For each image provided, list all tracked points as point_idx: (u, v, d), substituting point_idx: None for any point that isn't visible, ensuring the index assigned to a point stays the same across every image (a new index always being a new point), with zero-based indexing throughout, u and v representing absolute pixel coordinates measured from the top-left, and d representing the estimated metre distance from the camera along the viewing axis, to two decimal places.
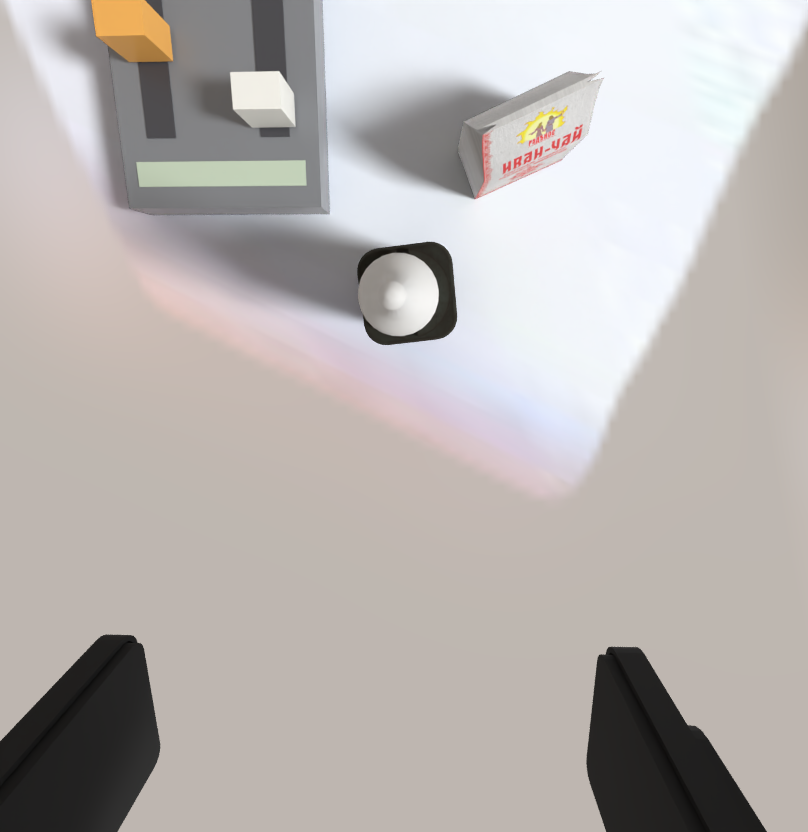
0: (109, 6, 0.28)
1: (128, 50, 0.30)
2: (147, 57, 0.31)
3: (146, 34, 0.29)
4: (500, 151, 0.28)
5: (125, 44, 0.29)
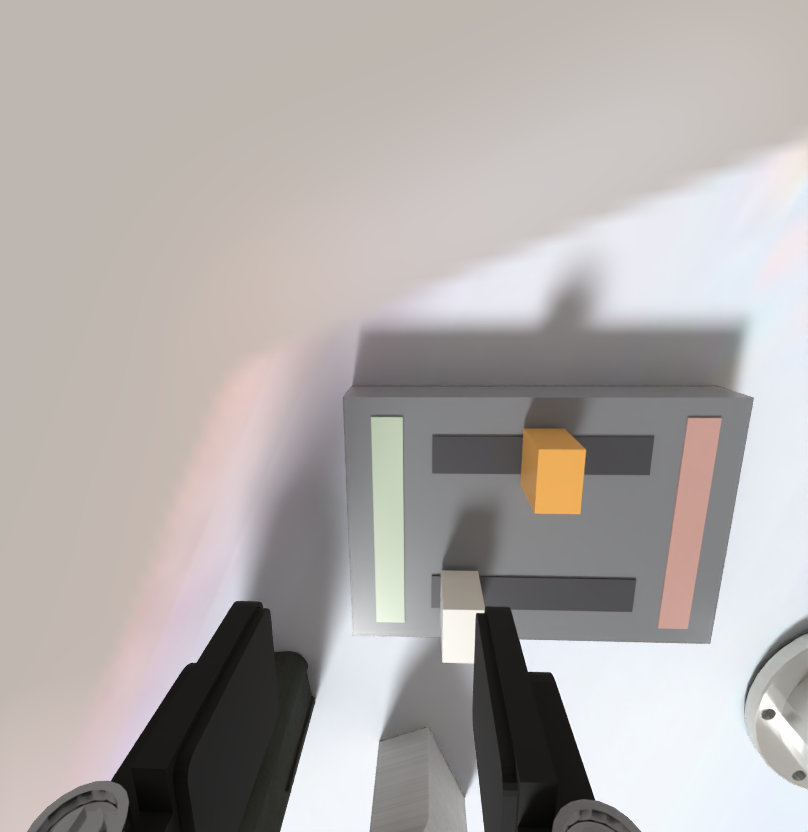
0: (572, 472, 0.21)
1: (528, 455, 0.22)
2: (524, 462, 0.23)
3: (536, 511, 0.21)
4: None
5: (532, 466, 0.22)
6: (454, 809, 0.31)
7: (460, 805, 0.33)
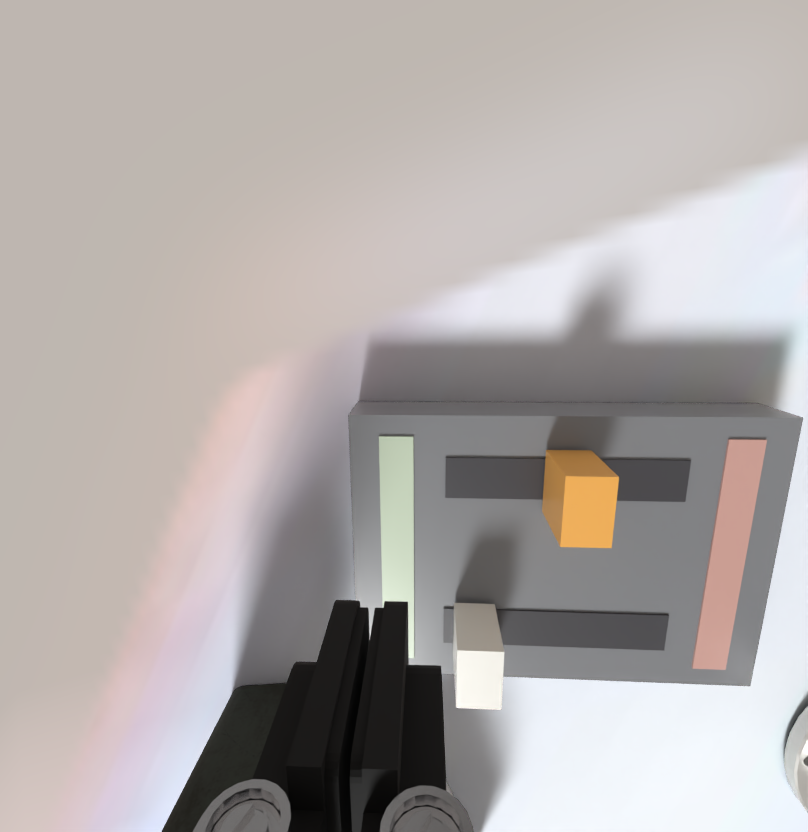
0: (602, 502, 0.18)
1: (552, 481, 0.20)
2: (546, 487, 0.21)
3: (561, 544, 0.19)
4: None
5: (556, 493, 0.20)
6: None
7: None
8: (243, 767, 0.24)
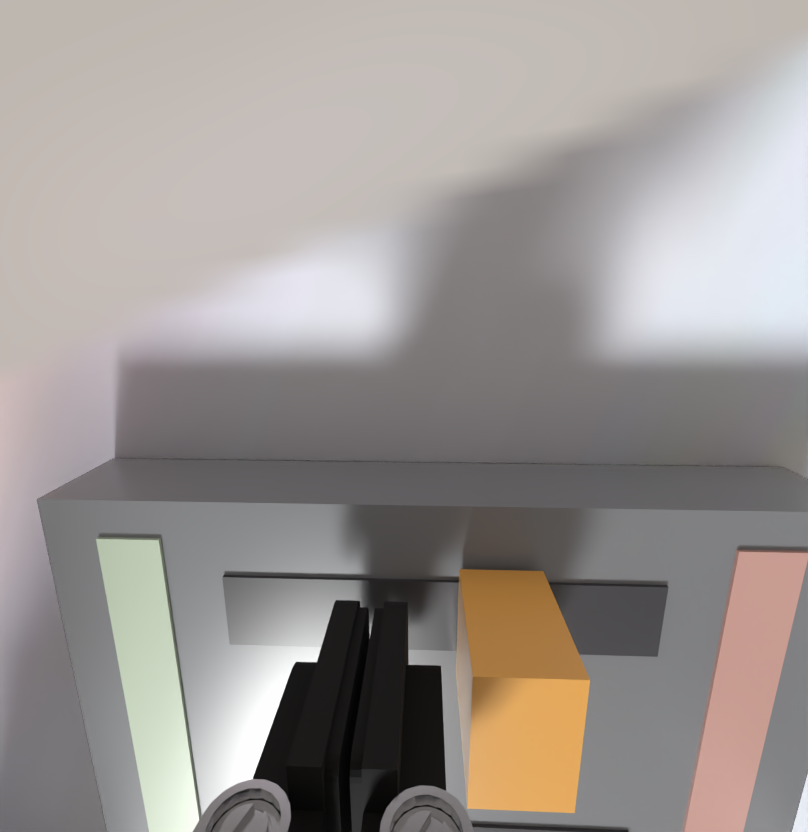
0: (554, 727, 0.08)
1: (463, 647, 0.10)
2: (458, 641, 0.11)
3: (472, 799, 0.09)
4: None
5: (465, 684, 0.09)
6: None
7: None
8: None
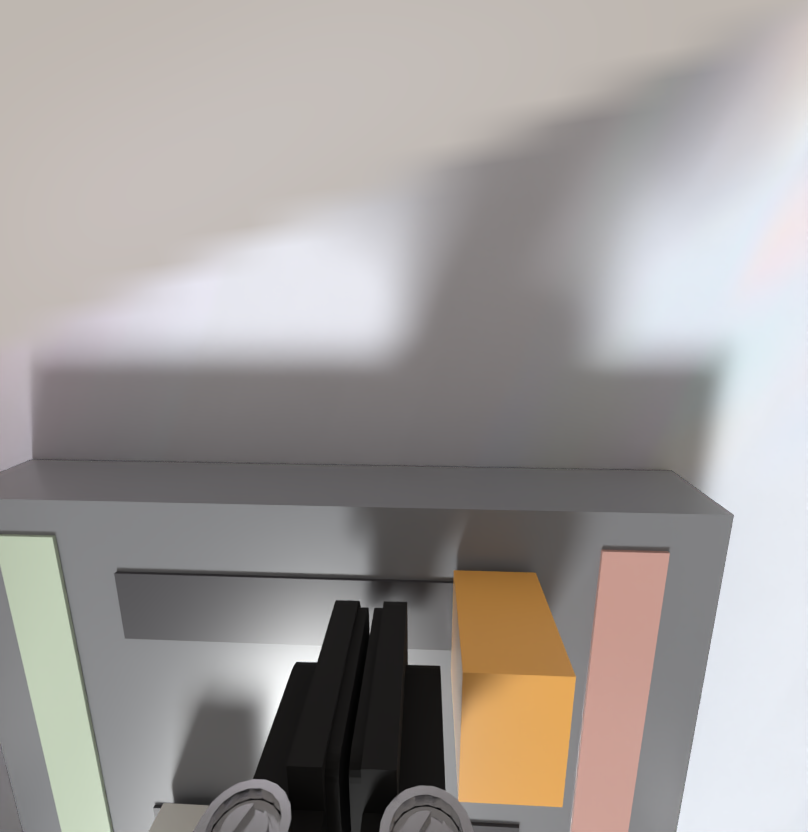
0: (542, 723, 0.09)
1: (456, 645, 0.10)
2: (452, 641, 0.12)
3: (462, 792, 0.09)
4: None
5: (457, 682, 0.10)
6: None
7: None
8: None
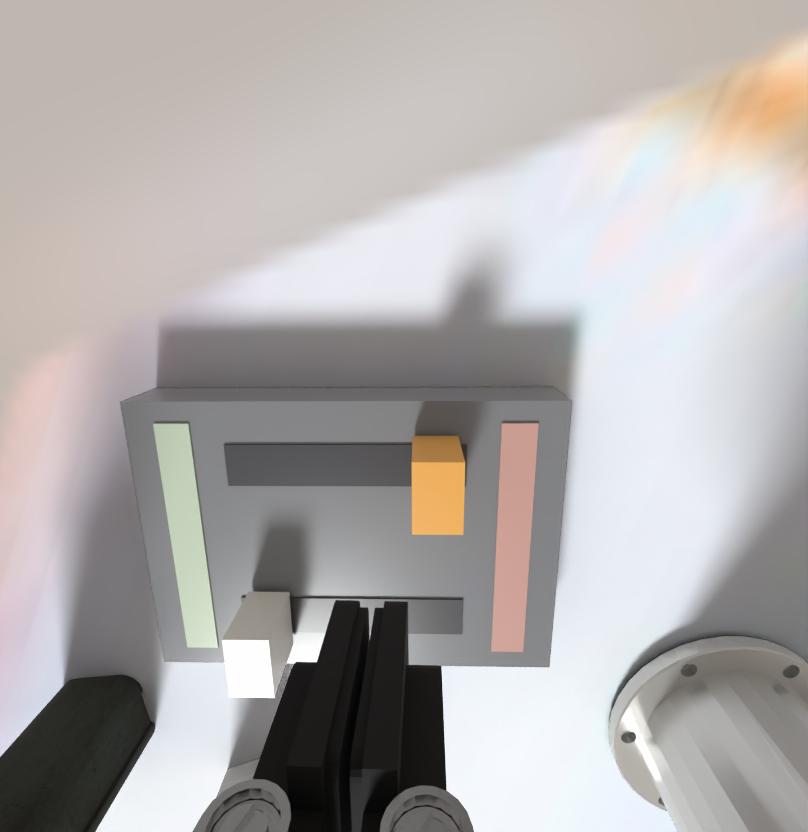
0: (450, 488, 0.18)
1: None
2: None
3: (414, 532, 0.19)
4: None
5: None
6: None
7: None
8: (39, 762, 0.24)
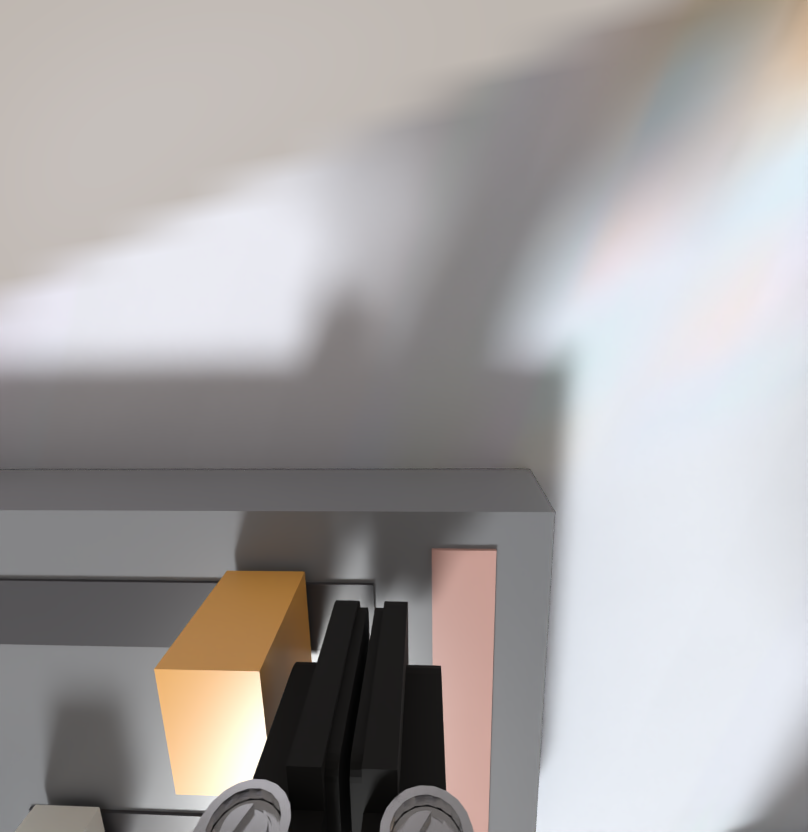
0: (237, 716, 0.09)
1: None
2: None
3: (185, 786, 0.10)
4: None
5: None
6: None
7: None
8: None
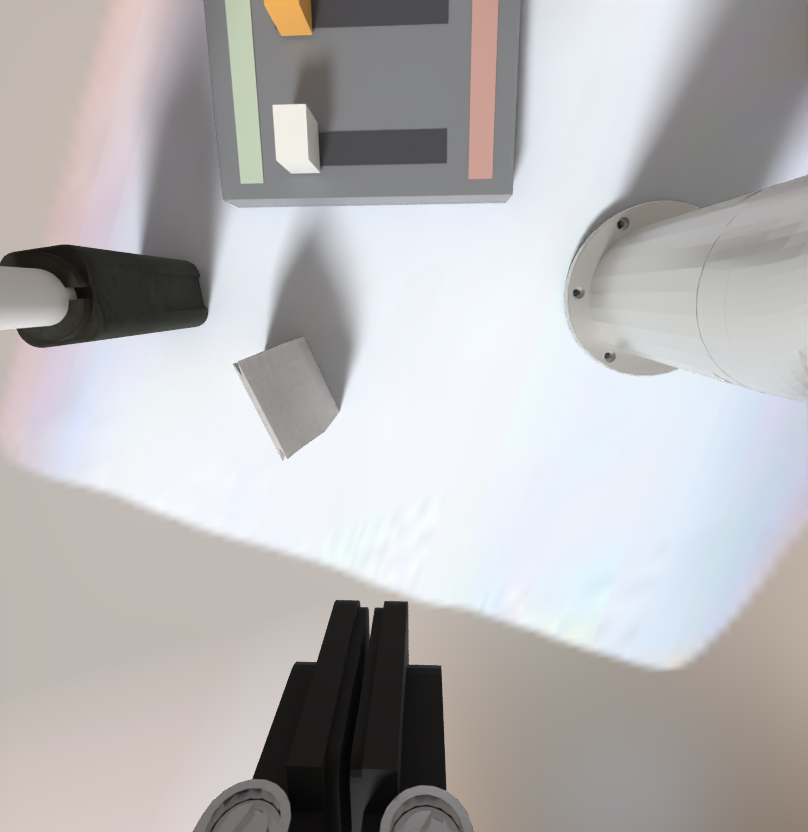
0: None
1: None
2: None
3: (267, 7, 0.27)
4: None
5: None
6: (322, 392, 0.37)
7: (331, 403, 0.38)
8: None
